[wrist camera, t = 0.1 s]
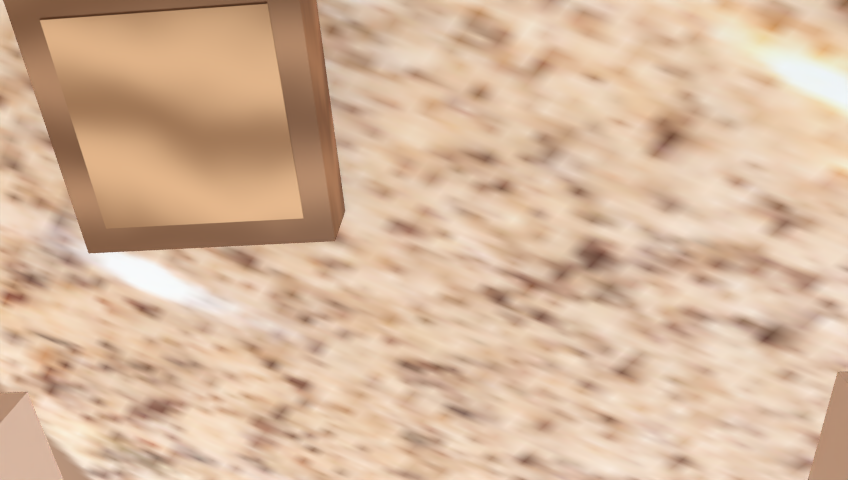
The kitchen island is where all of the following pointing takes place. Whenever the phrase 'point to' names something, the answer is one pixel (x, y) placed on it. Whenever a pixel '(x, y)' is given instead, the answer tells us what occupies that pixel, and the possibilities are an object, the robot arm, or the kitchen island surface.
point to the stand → (186, 119)
